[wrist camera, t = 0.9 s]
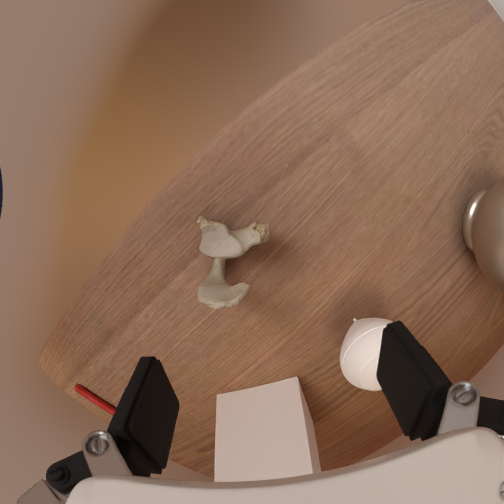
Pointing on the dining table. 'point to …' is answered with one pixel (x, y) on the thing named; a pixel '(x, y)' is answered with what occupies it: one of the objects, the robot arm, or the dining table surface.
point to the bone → (221, 248)
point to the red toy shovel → (95, 399)
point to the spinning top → (362, 352)
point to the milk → (264, 434)
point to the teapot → (487, 232)
